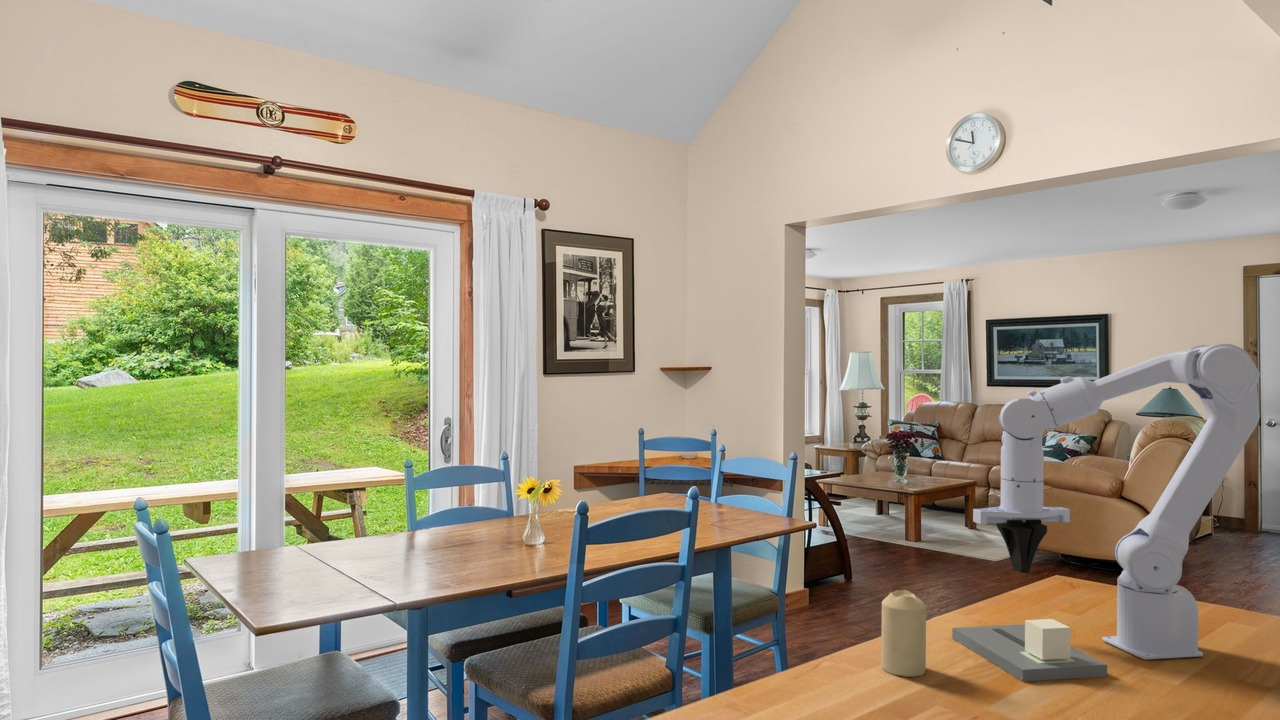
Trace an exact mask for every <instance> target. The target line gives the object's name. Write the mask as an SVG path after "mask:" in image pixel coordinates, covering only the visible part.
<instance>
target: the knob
mask: <svg viewBox="0 0 1280 720" xmlns="http://www.w3.org/2000/svg"><path fill="white" fill-rule="evenodd" d="M1024 624H1025V651H1027V652H1029V653H1031V654H1033V655H1034V656H1036V657H1038V658H1040V659H1042V660H1050V659H1067V658H1070V646H1071V627H1070V626H1068V625H1066V624H1064V623H1061V622H1060V621H1057V620H1056V619H1053V618H1046V619H1041V618H1040V619H1026V620H1024Z"/></svg>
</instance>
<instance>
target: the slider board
mask: <svg viewBox="0 0 1280 720" xmlns="http://www.w3.org/2000/svg"><path fill="white" fill-rule="evenodd" d="M951 630H952V632H951V634H952V639H953V640H954V641H956V642H958V643H959V644H961V645H962V646H964V647H966V648H967V649H969V650H970V651H972V652H974V653H975V654H977V655H979V656H980V657H982V658H984V659H985V660H987V661H988V662H990V663H991V664H993V665H995V666H997V668H1000V670H1003V671H1004V672H1006V673H1008V674H1009V675H1011V676H1013V677H1014V678H1016V679H1017V680H1019V681H1021V682H1024V683H1025V682H1040V681H1055V680H1056V681H1057V680H1071V679H1073V680H1074V679H1086V678H1087V679H1088V678H1089V679H1090V678H1104V677H1108V664H1107V663H1105V662H1102V660H1098V659H1097V658H1094V657H1093V656H1091V655H1089V654H1087V653H1085V652H1083V651H1081V650H1079V649H1077V648H1075V647H1072V646H1071V645H1070V658H1067V659H1050V660H1042V659H1040V658H1038V657H1036V656H1034V655H1033V654H1031V653H1029V652H1027V651H1025V623H1024V624H1008V625H1007V624H1004V625H985V626H965V627H952V629H951Z"/></svg>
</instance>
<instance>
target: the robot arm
mask: <svg viewBox="0 0 1280 720" xmlns="http://www.w3.org/2000/svg"><path fill="white" fill-rule="evenodd" d="M1260 375H1261V373H1260V371H1259V369H1258V368H1257V366H1256V364H1255V362H1254V361H1253V359H1252V358H1251V356H1250V355H1249V354H1248V352H1247V351H1246V350H1244V349H1243V348H1241V347H1240V346H1238V345H1236V344H1231V343H1217V344H1214V345H1207V344H1206V345H1205V344H1201V345H1196V346H1193V347H1191V348H1189V349H1182V350H1176V351H1173V352H1168V353H1165V354H1160V355H1157V356H1154V357H1152V358H1149V359H1147V360H1144V361H1142V362H1138V363H1136V364H1134V365H1132V366H1129V367H1127V368H1124V369H1122V370H1118V371H1116V372H1113V373H1111V374H1108V375H1106V376H1103V377H1100V378H1098V379H1096V380H1094V381H1093V380H1089V379H1087V378H1084V377H1081V376H1076V377H1074V378H1072V377H1071V376H1064V377H1062V378H1060V381H1059V382H1060V383H1058V384H1055V385H1052V386H1050V387H1047V388H1044V389H1041V390H1040V391H1036V390H1034V389H1031V390H1030V391H1027V396H1028V398H1025V397H1023V398H1021V397H1019V398H1014V399H1012V400H1009V401H1008V402H1006V403H1005V404H1004V406H1002V408H1001V410H1000V414H999V415H998V422H999V425H1000V427H1001V428H1002V429H1003V430H1002V436H1001V443H1002V446H1001V447H1000V504H999V506H994V507H993V506H992V507H983V508H973V509H972V511H973V512H972V522H973V523H976V524H979V525H987V524H996V528H997V530H999V532H1000V534H1001V536H1002V539H1003V541H1004V543H1005V545H1006V548H1007V551H1008V555H1009V558H1010V562H1011V566H1012V570H1013V571H1015V572H1018V573H1020V574H1030V572H1031V567H1032V563H1033V561H1034V558H1035V555H1036V553H1037V550H1038V547H1039V545H1040V543H1041V542H1042V540H1043V538H1045V535H1047V533H1048V525H1046V524H1044V523H1050V522H1062V523H1070V522H1071V520H1070V519H1071V517H1070V516H1071V514H1070V512H1071V510H1070V509H1069V508H1067V507H1062V506H1044V455H1045V454H1044V449H1043V433H1044V432H1045V431H1046V428H1050V429H1054V428H1055V429H1056V428H1058V427H1060V426H1064V425H1066V424H1067V425H1068V424H1069V423H1072V422H1076V421H1079V420H1081V419H1085V418H1088V417H1090V416H1093V415H1095V414H1098V412H1099V410H1100V408H1101V406H1102V404H1103V402H1105V401H1108V400H1110V399H1111V400H1112V399H1114V398H1117V397H1121V396H1124V395H1127V394H1131V393H1134V392H1137V391H1140V390H1143V389H1145V388H1148V387H1151V386H1156V385H1158V384H1163V383H1171V384H1173V383H1174V384H1186V385H1187V386H1188V388H1190V389H1191V390H1192V391H1193V392H1194V393H1195V394H1197V396H1198V397H1199V399H1200V401H1201V403H1202V405H1203V407H1204V410H1205V412H1206V413H1207V416H1208V418H1207V420H1206V422H1205V423H1204V425H1203V427H1202V428H1201V430H1200V431H1199V433H1198V435H1197V437H1195V440H1194V441H1193V443H1192V445H1190V446H1191V447H1190V448H1189V449H1188V451H1187V453H1186V454H1185V457H1184V458H1183V460H1182V461H1181V463H1180V464H1179V465H1178V467H1177V469H1176V471H1175V472H1174V474H1173V476H1172V477H1171V478H1170V481H1169V482H1168V484H1167V486H1166V487H1165V489H1164V491H1163V492H1162V493H1161V496H1160V497H1159V499H1158V500H1157V502H1156V503H1155V505H1154V506H1153V508H1152V510H1151V512H1150V513H1149V514H1147V515H1146V516H1145V517H1144V518H1142V519H1141V520H1140V521H1139V522H1138V524H1137V525H1136V526H1135V528H1133V530H1132V531H1130V532H1129V533H1127V534H1125V535H1123V537H1121V538H1120V539H1119V540H1118V541H1117V543H1116V545H1115V548H1114V549H1115V550H1114V555H1115V559H1116V561H1117V563H1118V565H1119V566H1120V567H1121V569H1123V570H1122V571H1121V574H1120V575H1119V576H1118V577H1117V580H1116V581H1117V584H1116V585H1117V587H1116V588H1117V590H1116V591H1117V593H1116V594H1117V595H1116V600H1117V601H1116V635H1112V636H1110V635H1108V636H1102V637H1101V640H1102V641H1104V642H1105V643H1108V644H1110V645H1111V646H1114V647H1117V648H1118V649H1120V650H1122V651H1125V652H1126V653H1129V654H1131V655H1134V656H1135V657H1137V658H1140V659H1142V660H1158V659H1159V660H1160V659H1162V660H1163V659H1177V658H1180V659H1181V658H1193V657H1203V656H1204V652H1202V651H1201V650H1199V608H1198V603H1197V601H1196V599H1195V596H1194V595H1193V594H1192V593H1191V591H1190V590H1188V589H1187V588H1185V587H1184V586H1182V585H1179V584H1178V583H1179V581H1180V580H1181V578H1182V576H1183V561H1184V559H1185V556H1186V555H1187V553H1188V550H1189V542H1190V534H1191V532H1192V530H1193V529H1194V527H1195V525H1196V524H1197V523H1198V520H1199V519H1200V517H1201V516H1202V514H1203V513H1204V511H1205V509H1206V508H1207V506H1208V504H1209V502H1210V501H1211V500H1212V498H1213V496H1214V495H1215V493H1216V492H1217V490H1218V488H1220V485H1221V484H1222V482H1223V480H1224V479H1225V478H1226V475H1227V474H1228V473H1229V470H1230V469H1231V467H1232V466H1233V464H1234V462H1235V461H1236V460H1237V458H1238V456H1239V455H1240V453H1241V451H1242V450H1243V448H1244V447H1245V445H1246V444H1247V442H1248V440H1249V439H1250V438H1251V437H1250V436H1251V435H1252V433H1254V430H1255V429H1256V428H1257V426H1258V424H1259V421H1260V409H1259V407H1260V406H1259V394H1258V382H1259V379H1260Z"/></svg>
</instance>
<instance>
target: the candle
mask: <svg viewBox="0 0 1280 720" xmlns="http://www.w3.org/2000/svg"><path fill="white" fill-rule="evenodd" d="M880 652H881V653H880V655H881V657H880V663H881V664H880V665H881V668H882V670H883V671H885V672H887V673H888V674H891V675H894V676H898V677H903V678H904V677H905V678H908V677H909V678H916V677H920V676H923V675H925V673H926V670H927V669H926V668H927V667H926V666H927V665H926V664H927V663H926V661H927V654H926V653H927V605H926V604H925V603H924V602H923V601H922V600H921V599H920V598H919V597H917V596H916V594H914V593H913V592H911V591H910V590H906V589H904V590H895V591H893V592H890V593H889V594H888V595H887V596H885V598H884V599H883V600H882V601H881V651H880Z"/></svg>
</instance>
